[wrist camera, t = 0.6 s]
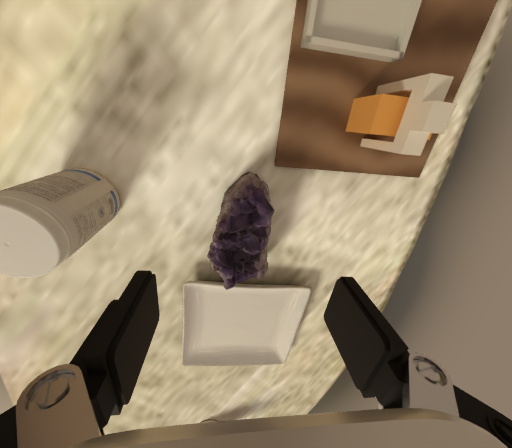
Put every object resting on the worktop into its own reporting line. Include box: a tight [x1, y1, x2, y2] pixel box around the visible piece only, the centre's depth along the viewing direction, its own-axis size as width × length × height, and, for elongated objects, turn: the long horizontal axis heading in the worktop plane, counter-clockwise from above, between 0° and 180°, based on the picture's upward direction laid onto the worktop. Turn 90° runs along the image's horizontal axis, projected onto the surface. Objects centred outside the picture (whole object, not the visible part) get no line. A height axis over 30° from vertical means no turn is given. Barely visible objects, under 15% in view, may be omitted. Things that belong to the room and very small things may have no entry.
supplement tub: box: [0, 168, 120, 278], centre depth 28 cm, size 10×10×15 cm
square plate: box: [181, 281, 312, 366], centre depth 50 cm, size 27×27×4 cm
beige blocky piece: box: [360, 73, 457, 156], centre depth 28 cm, size 8×3×11 cm, turn 174°
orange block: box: [346, 94, 432, 140], centre depth 30 cm, size 4×9×6 cm, turn 84°
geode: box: [207, 172, 274, 290], centre depth 36 cm, size 20×12×10 cm, turn 172°
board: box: [275, 0, 497, 178], centre depth 31 cm, size 27×27×1 cm
